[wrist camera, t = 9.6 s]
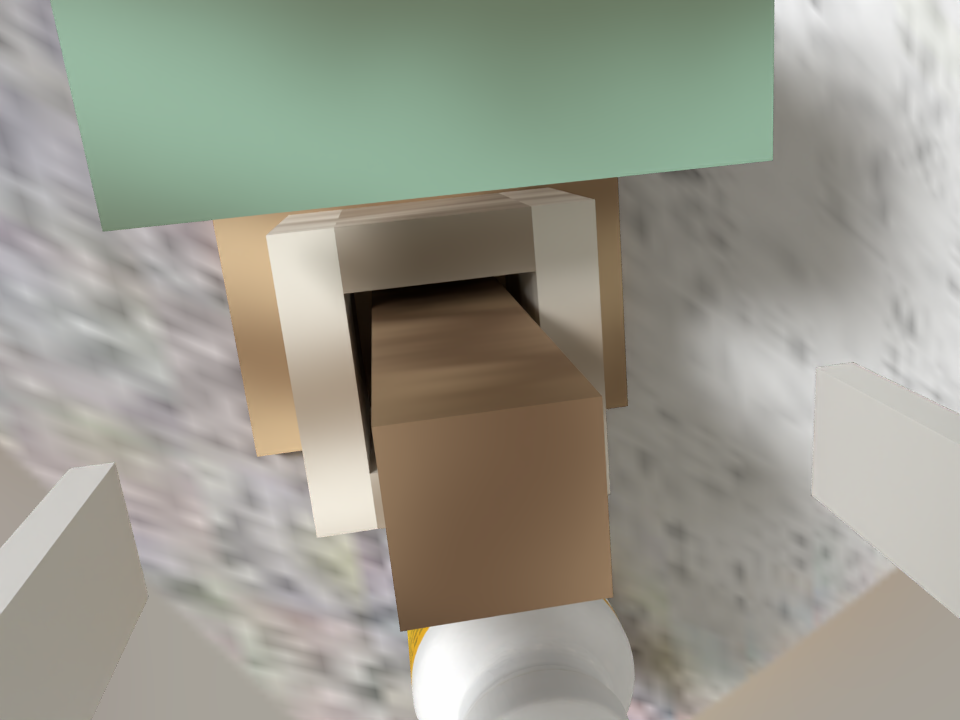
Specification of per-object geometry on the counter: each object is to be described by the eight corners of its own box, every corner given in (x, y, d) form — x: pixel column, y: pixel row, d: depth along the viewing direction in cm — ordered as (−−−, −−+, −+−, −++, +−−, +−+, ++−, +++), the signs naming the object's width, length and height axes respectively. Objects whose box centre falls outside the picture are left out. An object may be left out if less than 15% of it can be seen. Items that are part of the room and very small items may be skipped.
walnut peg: (386, 386, 29) (400, 631, 14) (371, 278, 28) (371, 427, 13) (494, 372, 29) (613, 597, 15) (484, 265, 28) (602, 395, 14)
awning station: (159, -102, 25) (-67, -360, 12) (595, -131, 26) (806, -388, 13) (263, 458, 30) (183, 691, 17) (620, 409, 31) (788, 591, 19)
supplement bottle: (366, 556, 32) (363, 820, 19) (463, 426, 31) (524, 617, 18) (499, 631, 33) (573, 917, 21) (594, 510, 32) (730, 736, 20)
